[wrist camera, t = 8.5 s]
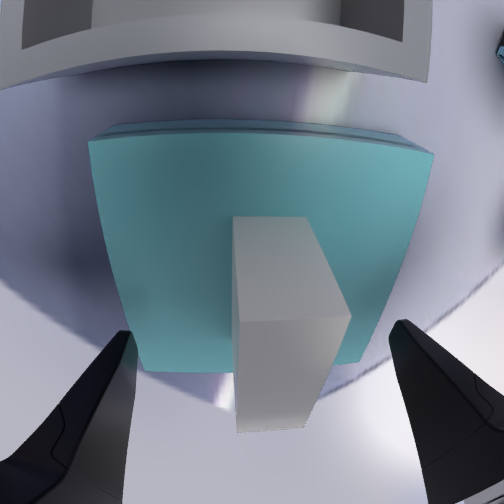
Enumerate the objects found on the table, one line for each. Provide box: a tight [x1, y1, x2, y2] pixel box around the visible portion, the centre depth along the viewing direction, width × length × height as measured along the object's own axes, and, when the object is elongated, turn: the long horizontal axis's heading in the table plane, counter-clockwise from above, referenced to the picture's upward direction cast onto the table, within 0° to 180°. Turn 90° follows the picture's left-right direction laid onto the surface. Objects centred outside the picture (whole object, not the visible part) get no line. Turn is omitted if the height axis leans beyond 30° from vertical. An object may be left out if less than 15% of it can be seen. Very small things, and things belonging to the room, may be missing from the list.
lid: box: [88, 119, 434, 433], centre depth 11 cm, size 11×11×7 cm
